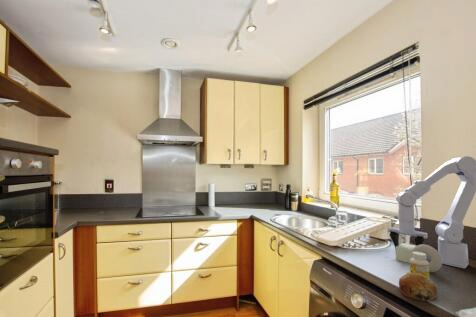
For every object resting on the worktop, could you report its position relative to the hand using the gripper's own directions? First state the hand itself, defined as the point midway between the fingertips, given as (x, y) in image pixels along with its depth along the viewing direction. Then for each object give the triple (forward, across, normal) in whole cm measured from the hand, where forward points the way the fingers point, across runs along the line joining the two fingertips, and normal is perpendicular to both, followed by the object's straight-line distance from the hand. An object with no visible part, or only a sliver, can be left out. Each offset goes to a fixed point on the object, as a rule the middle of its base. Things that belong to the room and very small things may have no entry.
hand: (407, 251), depth 112 cm
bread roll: (+3, +12, -33) cm, 36 cm away
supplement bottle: (+3, +10, -22) cm, 25 cm away
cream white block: (+3, 0, 0) cm, 3 cm away
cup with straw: (+3, -5, +12) cm, 13 cm away
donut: (+3, +9, -10) cm, 14 cm away
